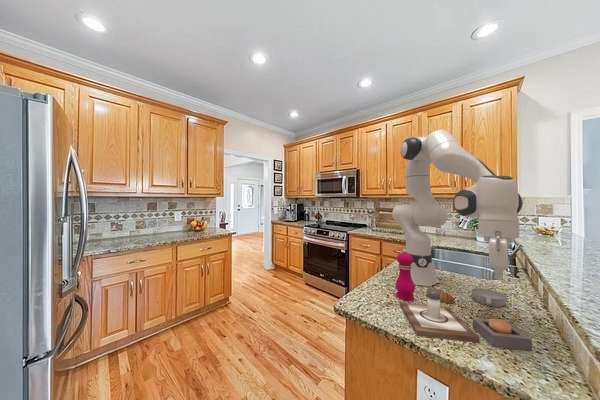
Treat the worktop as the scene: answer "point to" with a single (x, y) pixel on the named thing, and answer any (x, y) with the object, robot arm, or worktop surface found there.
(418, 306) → the board
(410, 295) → the pepper mill
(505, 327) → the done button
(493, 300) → the small pan
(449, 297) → the pastry
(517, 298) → the worktop surface
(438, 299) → the marker
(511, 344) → the button base
